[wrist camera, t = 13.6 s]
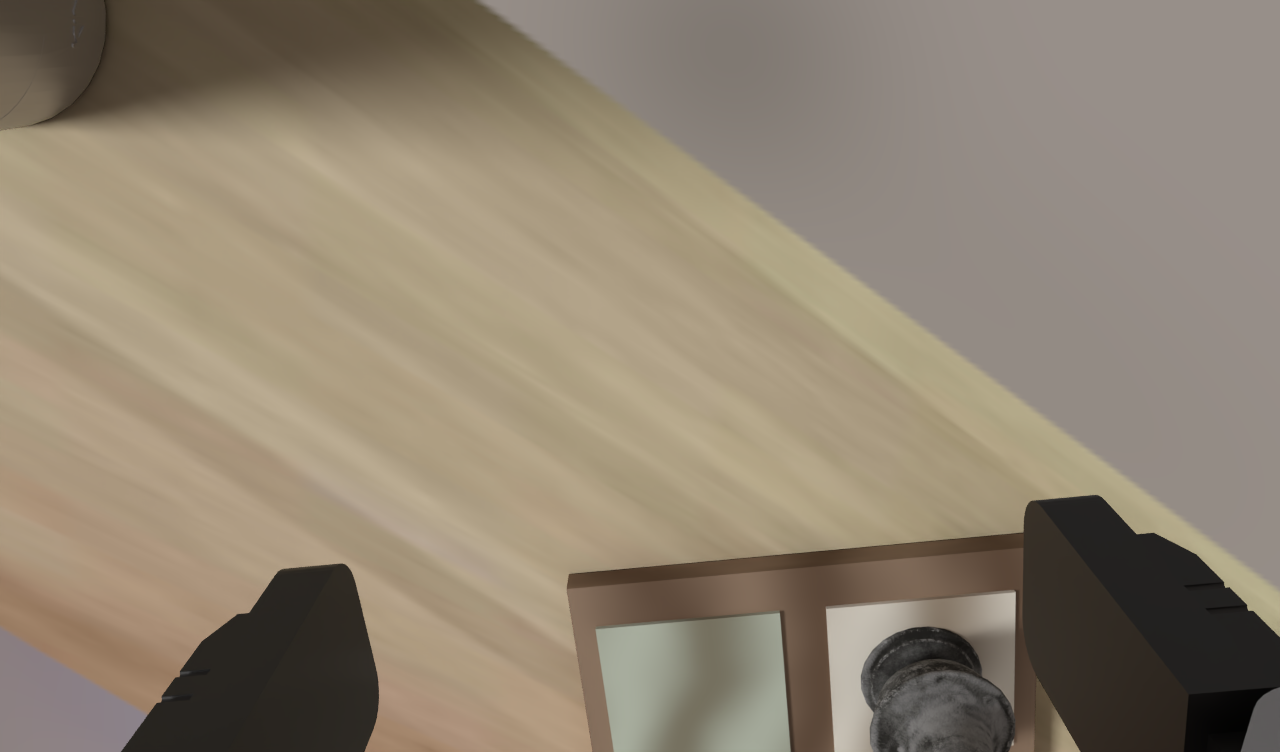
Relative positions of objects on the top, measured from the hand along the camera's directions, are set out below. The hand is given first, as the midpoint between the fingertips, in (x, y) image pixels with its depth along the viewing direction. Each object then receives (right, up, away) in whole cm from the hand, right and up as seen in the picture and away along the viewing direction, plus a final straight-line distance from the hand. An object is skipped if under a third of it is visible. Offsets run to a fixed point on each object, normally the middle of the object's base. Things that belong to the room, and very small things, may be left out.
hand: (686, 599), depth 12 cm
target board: (+7, -11, +34) cm, 36 cm away
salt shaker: (+12, -11, +32) cm, 36 cm away
